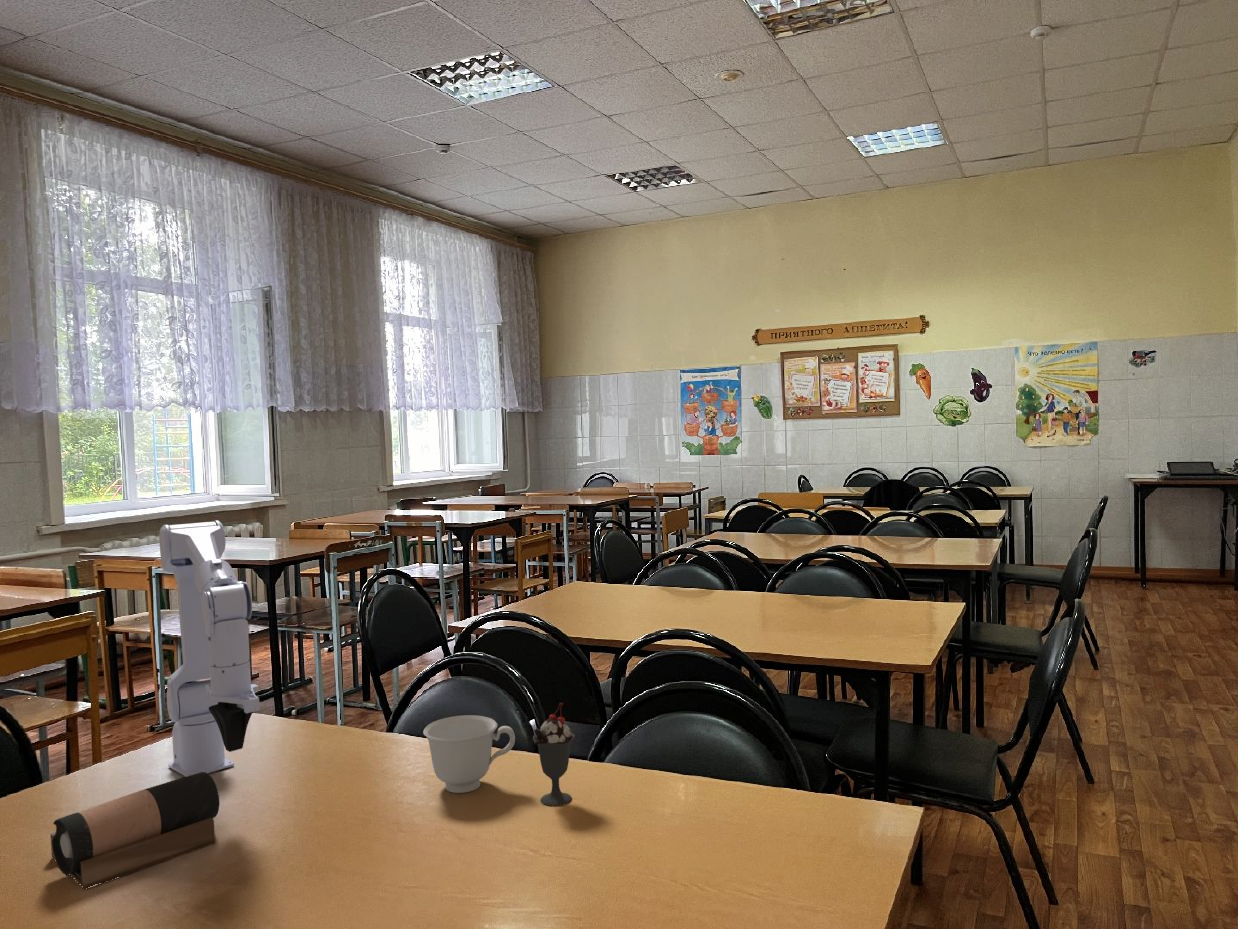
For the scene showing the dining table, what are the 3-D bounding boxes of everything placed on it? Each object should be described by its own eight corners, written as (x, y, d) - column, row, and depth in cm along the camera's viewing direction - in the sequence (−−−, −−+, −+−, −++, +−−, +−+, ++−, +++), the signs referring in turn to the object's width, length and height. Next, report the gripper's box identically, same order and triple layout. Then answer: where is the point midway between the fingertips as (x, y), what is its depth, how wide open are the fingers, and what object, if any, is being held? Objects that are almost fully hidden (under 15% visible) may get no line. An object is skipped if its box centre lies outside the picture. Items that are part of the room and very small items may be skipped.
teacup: (511, 800, 142) (509, 738, 142) (417, 802, 143) (415, 740, 142) (521, 771, 154) (519, 713, 154) (434, 773, 155) (432, 715, 154)
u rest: (51, 858, 128) (50, 834, 128) (176, 817, 140) (175, 795, 140) (84, 890, 118) (82, 864, 118) (215, 843, 131) (213, 819, 130)
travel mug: (225, 815, 133) (78, 872, 118) (203, 824, 138) (58, 880, 122) (212, 765, 135) (64, 814, 119) (190, 775, 139) (46, 823, 124)
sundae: (579, 791, 145) (576, 699, 144) (573, 809, 138) (570, 712, 138) (539, 791, 146) (536, 699, 145) (531, 808, 139) (527, 712, 138)
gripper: (276, 664, 137) (281, 752, 138) (234, 650, 147) (238, 732, 148) (230, 674, 132) (235, 766, 132) (190, 659, 142) (194, 744, 142)
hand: (234, 749), depth 140 cm, fingers closed
